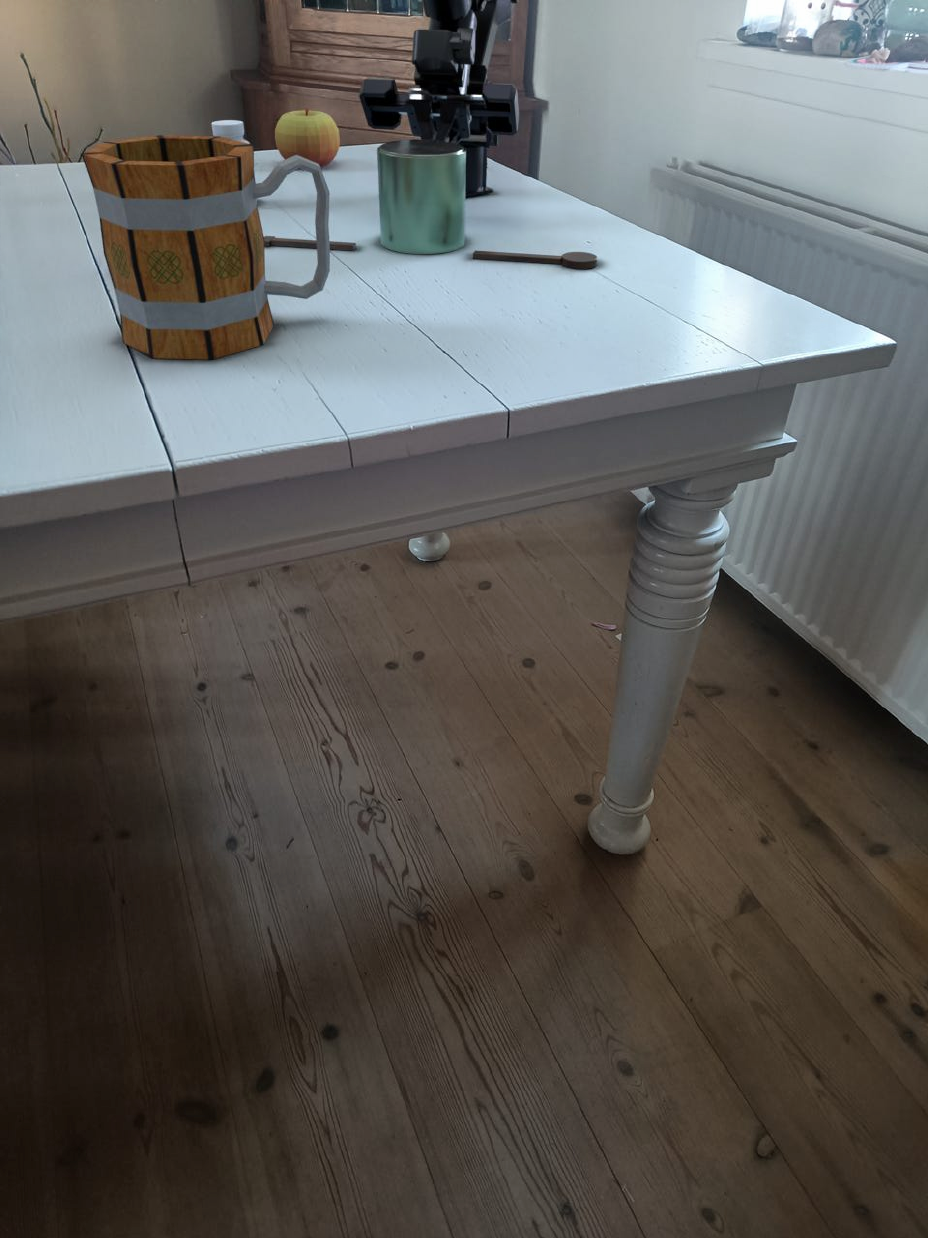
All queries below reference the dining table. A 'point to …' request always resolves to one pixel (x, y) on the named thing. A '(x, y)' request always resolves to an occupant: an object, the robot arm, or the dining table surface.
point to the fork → (306, 243)
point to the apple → (308, 136)
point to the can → (422, 196)
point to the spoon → (543, 258)
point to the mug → (193, 242)
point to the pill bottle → (230, 131)
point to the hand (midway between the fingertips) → (430, 170)
